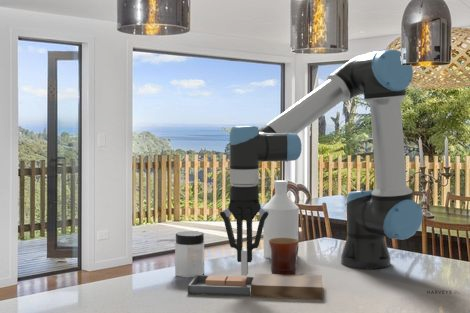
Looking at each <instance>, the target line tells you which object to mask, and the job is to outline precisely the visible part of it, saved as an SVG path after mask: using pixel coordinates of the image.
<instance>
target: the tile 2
mask: <svg viewBox="0 0 470 313" xmlns="http://www.w3.org/2000/svg"><path fill="white" fill-rule="evenodd" d="M227 276H228V278H227V280H226V286H235V287H247V277H248V275H247V276H244V275H227Z"/></svg>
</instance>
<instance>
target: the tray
mask: <svg viewBox="0 0 470 313" xmlns="http://www.w3.org/2000/svg"><path fill="white" fill-rule="evenodd" d="M209 275H210V274H209ZM209 275H205V274H204V275H196V276H195V277H192V278H193V279H192V280H191V281H190V282H189V284H188V285H187V295H201V296H202V295H210V296H234V297H235V296H237V297H251V283H252V281H253V278H254V276H247V287H235V286H206V283H205V280H206V279H207V277H208V276H209ZM226 276H227V278H228V276H229V275H226Z"/></svg>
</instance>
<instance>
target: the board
mask: <svg viewBox="0 0 470 313" xmlns="http://www.w3.org/2000/svg"><path fill="white" fill-rule="evenodd" d="M253 277H254V278H253V281H252V283H251V294H250V297H251V298H275V299H277V298H278V299H301V300H302V299H306V300H310V299H311V300H323V296H324V295H323V292H324V291H323V289H324V288H323V275H319V274H318V275H317V274H316V275H315V274H313V275H312V274H295V275H289V274H272V273H254V275H253Z"/></svg>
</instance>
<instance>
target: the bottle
mask: <svg viewBox="0 0 470 313" xmlns="http://www.w3.org/2000/svg"><path fill="white" fill-rule="evenodd" d="M288 184H289V182H288V180H283V179H282V180H273V185H274V195H273V196H272V197H271V198H270V199H269V201H268V202H266V203H265V205H263V207H262V209H263V210H265V211H268V212H269V214H268V216H267V218H266V219H265V222H264V226H263V230H262V234H263V236H262V237H263V257H264V258H267V259H269V258H270V260H271V248H270V244H269V240H270V239H273V238H293V239H297V240H299V219H300V218H299V215H300V213H299V212H300V211H299V210H300V208H299V206H298V205H297V204H296V203H295V202H294V201H293V200H292V199H291V198H290V197H289V196H288V194H287V193H288V192H287V191H288ZM298 255H299V253H298V254H297V258H298V257H299V256H298Z"/></svg>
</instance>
